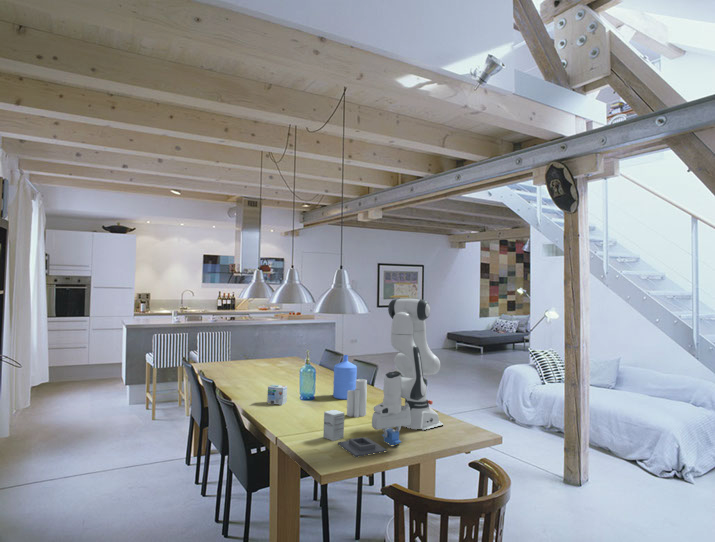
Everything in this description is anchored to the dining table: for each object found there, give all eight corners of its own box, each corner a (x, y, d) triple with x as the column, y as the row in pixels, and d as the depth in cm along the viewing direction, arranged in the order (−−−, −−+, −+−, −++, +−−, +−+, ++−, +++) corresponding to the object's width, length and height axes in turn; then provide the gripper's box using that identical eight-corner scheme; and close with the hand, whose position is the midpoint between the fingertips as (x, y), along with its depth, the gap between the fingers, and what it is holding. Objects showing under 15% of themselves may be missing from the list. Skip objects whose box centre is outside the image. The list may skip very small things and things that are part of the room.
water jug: (355, 400, 295) (357, 357, 296) (332, 399, 295) (333, 356, 296) (356, 394, 310) (357, 353, 311) (333, 393, 311) (335, 353, 312)
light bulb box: (266, 404, 280) (267, 386, 280) (271, 401, 286) (271, 384, 286) (282, 405, 277) (283, 387, 277) (287, 402, 284) (287, 385, 284)
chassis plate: (367, 439, 218) (367, 433, 218) (387, 452, 202) (387, 445, 202) (337, 444, 211) (337, 438, 211) (355, 457, 195) (355, 450, 195)
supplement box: (322, 437, 220) (323, 411, 220) (334, 434, 225) (334, 409, 225) (332, 441, 214) (333, 414, 215) (344, 438, 219) (344, 412, 220)
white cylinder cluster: (362, 412, 265) (363, 378, 266) (368, 416, 259) (369, 381, 260) (345, 414, 260) (346, 380, 261) (350, 418, 254) (351, 382, 255)
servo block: (388, 438, 220) (388, 424, 221) (401, 446, 210) (402, 431, 210) (381, 440, 218) (381, 425, 219) (394, 448, 208) (394, 432, 208)
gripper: (406, 403, 222) (405, 431, 222) (370, 407, 213) (369, 437, 212) (413, 406, 217) (413, 435, 216) (377, 410, 207) (376, 441, 207)
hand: (391, 436), depth 214 cm, fingers closed on servo block, 4 cm apart
